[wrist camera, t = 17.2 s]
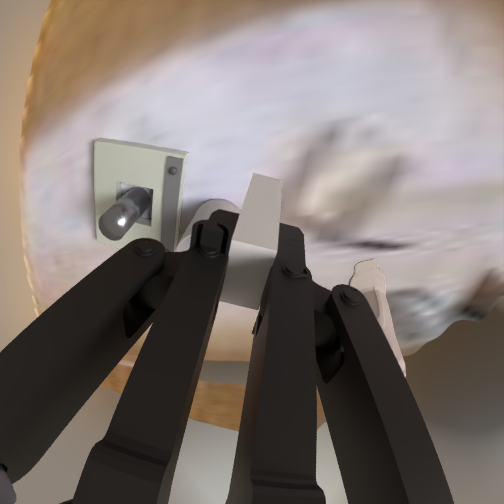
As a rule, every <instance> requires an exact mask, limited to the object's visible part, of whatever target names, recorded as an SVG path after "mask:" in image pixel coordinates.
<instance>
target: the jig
mask: <svg viewBox="0 0 504 504" xmlns="http://www.w3.org/2000/svg"><path fill="white" fill-rule="evenodd" d="M188 154H189V152H185V151H180V150H175V149H169V148H163V147H158V146H152V145H146V144H139V143H133V142H126V141H119V140H112V139H104V138H100V139H98V140H96V141H95V144H94V196H95V219H96V234H97V243H100V244H104V245H108V246H111V247H115V248H118V249H121V248H123V247H124V246H125V245H127V244H128V243H129V242H131V241H133V240H135V239H139V238H152V239H155V240H158V241H159V242H161V243H162V244H163V245H164V247H165V252H176V248H177V245H178V237H179V227H180V217H181V208H182V200H183V191H184V183H185V176H186V168H187V161H188ZM121 183H126V184H131V185H136V186H140V187H145V188H150V189H153V203H152V220H149V219H144V218H139V219H138V220H137V221H136V222H135V223H134V225H133V226H132V227H131V228H130V229H129V230H128V232H127V233H126V234H125V235H124V236H123V238H122V239H120V240H118V241H112V240H109V239H108V238H106V237H105V236H104V235H103V234H102V233H101V231H100V229H99V225H98V222H99V218H100V217H101V216H102V215H103V214H104V213H105V212H106V211H107V210H108V209H109V208H110V207H111V206H112V205H113V204H115V203H116V202H117V201H118V200H119V199H120V198H121Z"/></svg>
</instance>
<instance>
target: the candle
mask: <svg viewBox="0 0 504 504" xmlns="http://www.w3.org/2000/svg"><path fill="white" fill-rule="evenodd" d="M350 286H352V287H354V288H356V289H358V290H359V291H360V292H361V293H362V294H363V295H364V296H365V297H366V299H367V301H368V303H369V305H370V307H371V309H372V310H373V312H374V314H375V316H376V318H377V320H378V322H379V324H380V326H381V328H382V330H383V332H384V334H385V336H386V338H387V340H388V342H389V344H390V346H391V348H392V350H393V353H394V355H395V357H396V359H397V361H398V363H399V365H400V367H401V369H402V372H403V374H404V376H405V377H406V372H405V363H404V360H403V357H402V354H401V351H400V349H399V346H398V343H397V340H396V336H395V333H394V328H393V324H392V319H391V314H390V310H389V306H388V303H387V299H386V283H385V277H384V273H383V271H382V270H381V269H379V268H378V267H377V261H376V260H375V259H371V260H368V261H363V262H360V263H358V264H356V266H355V270H354V275H353V277H352V279H351V281H350Z"/></svg>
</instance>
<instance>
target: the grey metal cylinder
mask: <svg viewBox="0 0 504 504" xmlns="http://www.w3.org/2000/svg"><path fill="white" fill-rule="evenodd" d="M150 203H151V200H150V196H149V194H148V192H147V191H146V190H145V189H143V188H141V187H133V188H131V189H130V190H129V191H128V192H127V193H126V194H124V195H123V196H122V197H121V198H120V199H119V200H118V201H117V202H116V203H115V204H113V205H112V206H111V207H110V208H109V209H108V210H107V211H106V212H105V213H104V214H103V215H102V216H101V217H100V218H99V222H98V225H99V229H100V231H101V233H102V234H103V235H104V236H105V237H106V238H108V239H109V240H112V241H118V240H120V239H122V238H123V236H124V235H125V234H126V233H127V232H128V230H129V229H130V228H131V227H132V226H133V225H134V223H135V222H136V221H137V220H138V219H139V218H140V217H141V215H142V214H143V213H144V212H145V211H146V210H147V209H148V208H149V206H150Z"/></svg>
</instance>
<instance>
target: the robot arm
mask: <svg viewBox="0 0 504 504" xmlns="http://www.w3.org/2000/svg"><path fill="white" fill-rule="evenodd" d="M281 193H282V180H279V179H275V178H271V177H267V176H263V175H259V174H255V173H253V176H252V179H251V182H250V185H249V188H248V191H247V194H246V197H245V200H244V203H243V206H242V209H241V212H240V214H239V213H234V212H230V211H226V210H222V209H218V210H216V211H214V212H212V213H211V215H210V217H209V219H207V220H200V221H197V222H195V223H194V224H193V225H192V233H191V241H190V247H189V249H188V250H186V251H181V252H165V247H164V245H163V244H162V243H161V242H159V241H158V240H155V239H152V238H139V239H135V240H133V241H131V242H129V243H128V244H127V245H125V246H124V247H123V248H121V249H120V250H119V251H117V252H116V253H115V254H114V255H112V256H111V257H110V258H108V259H107V260H106V261H105V262H103V263H102V264H101V265H100V266H98V267H97V268H96V269H94V270H93V271H92V272H91V273H89V274H88V275H87V276H86V277H85V278H83V279H82V280H81V281H80V282H78V283H77V284H76V285H75V286H74V287H72V288H71V289H70V290H69V291H68V292H66V293H65V294H64V295H63V296H62V297H61V298H59V299H58V300H57V301H56V302H55V303H54V304H52V305H51V306H50V307H49V308H48V309H47V310H45V311H44V312H43V313H42V314H41V315H40V316H39V317H38V318H36V320H34V321H33V322H32V323H31V324H30V325H29V326H28V327H27V328H25V329H24V330H23V331H22V332H21V333H20V334H19V335H18V336H17V337H16V338H15V339H14V340H13V341H12V342H11V343H9V344H8V345H7V346H6V347H5V348H4V349H3V350H2V351H1V352H0V504H14V503H15V502H16V493H15V491H14V490H13V486H12V484H13V483H15V482H16V481H18V480H20V479H21V478H22V477H23V476H24V475H25V474H27V473H28V472H29V471H30V470H31V469H32V468H33V467H34V466H35V465H36V463H37V462H38V461H39V460H40V459H41V458H42V456H43V455H44V454H45V453H46V451H47V450H48V449H49V447H50V446H51V445H52V444H53V442H54V441H55V440H56V439H57V437H58V436H59V435H60V433H61V432H62V431H63V430H64V428H65V427H66V426H67V425H68V423H69V422H70V421H71V420H72V418H73V417H74V416H75V415H76V413H77V412H78V411H79V410H80V409H81V407H82V406H83V405H84V404H85V402H86V401H87V400H88V399H89V398H90V396H91V395H92V394H93V393H94V391H95V390H96V389H97V388H98V387H99V385H100V384H101V383H102V382H103V381H104V379H105V378H106V377H107V376H108V375H109V373H110V372H111V371H112V370H113V369H114V367H115V366H116V365H117V364H118V363H119V362H120V360H121V359H122V358H123V357H124V356H125V354H126V353H127V352H128V351H129V350H130V349H131V347H132V346H133V345H134V344H135V343H136V341H137V340H138V339H139V338H140V337H141V336H142V334H143V333H144V332H145V331H146V330H147V329H148V327H149V326H150V325H151V324H152V323H153V324H152V326H151V328H150V330H149V332H148V335H147V337H146V339H145V341H144V344H143V346H142V348H141V350H140V353H139V355H138V357H137V360H136V362H135V364H134V366H133V369H132V371H131V373H130V376H129V378H128V381H127V383H126V385H125V388H124V390H123V393H122V395H121V398H120V400H119V403H118V405H117V408H116V410H115V412H114V415H113V417H112V420H111V423H110V425H109V428H108V430H107V433H106V435H105V437H104V438H103V439H102V440H100V441H99V442H97V443H96V444H95V445H94V447H93V448H92V449H91V451H90V453H89V456H88V458H87V461H86V463H85V466H84V469H83V471H82V474H81V477H80V480H79V483H78V486H77V489H76V492H75V494H74V497H73V499H71V500H68V501H65V502H62V503H60V504H168V501H169V496H170V491H171V485H172V481H173V476H174V472H175V468H176V464H177V460H178V456H179V452H180V448H181V444H182V440H183V437H184V433H185V429H186V425H187V421H188V417H189V413H190V409H191V406H192V402H193V398H194V394H195V390H196V387H197V383H198V379H199V375H200V372H201V368H202V364H203V360H204V357H205V353H206V349H207V346H208V342H209V338H210V335H211V331H212V327H213V324H214V320H215V316H216V313H217V308H218V303H219V301H222V302H226V303H230V304H234V305H239V306H243V307H247V308H251V309H256V310H258V309H259V306H260V310H259V313H258V316H257V319H256V322H255V325H254V328H253V331H252V334H254V338H253V344H252V351H251V358H250V364H249V371H248V378H247V384H246V391H245V397H244V403H243V410H242V416H241V422H240V429H239V435H238V441H237V447H236V454H235V459H234V466H233V472H232V478H231V484H230V490H229V494H228V498H227V501H226V503H225V504H326V499H325V495H324V492H323V490H322V489H321V488H320V487H319V486H318V485H317V482H316V440H317V439H316V438H317V436H316V435H317V433H316V432H317V392H316V385H317V388H318V392H319V395H320V399H321V402H322V406H323V410H324V413H325V417H326V420H327V424H328V428H329V431H330V435H331V439H332V442H333V446H334V450H335V454H336V457H337V461H338V465H339V468H340V472H341V476H342V480H343V484H344V488H345V492H346V496H347V500H348V504H454V502H453V499H452V495H451V493H450V489H449V486H448V483H447V480H446V477H445V475H444V472H443V469H442V466H441V463H440V461H439V458H438V455H437V453H436V450H435V447H434V445H433V442H432V440H431V437H430V435H429V432H428V429H427V427H426V425H425V422H424V420H423V417H422V415H421V412H420V410H419V408H418V406H417V403H416V401H415V398H414V397H413V394H412V392H411V389H410V387H409V385H408V383H407V380H406V378H405V376H404V374H403V372H402V369H401V367H400V365H399V363H398V361H397V359H396V357H395V355H394V353H393V350H392V348H391V346H390V344H389V342H388V340H387V338H386V336H385V334H384V332H383V330H382V328H381V326H380V324H379V322H378V320H377V318H376V316H375V314H374V312H373V310H372V309H371V307H370V305H369V303H368V301H367V299H366V297H365V296H364V295H363V294H362V293H361V292H360V291H359V290H358V289H356V288H354V287H352V286H349V285H344V284H341V285H336V286H335V287H333V289H332V291H330V290H328V289H326V288H324V287H322V286H320V285H318V284H316V283H315V282H314V281H313V280H312V275H311V272H310V270H309V269H308V268H307V267H306V263H305V249H304V248H305V246H304V234H303V233H302V232H301V230H300V229H299V228H298V227H294V226H290V225H286V224H283V223H279V222H280V208H281Z"/></svg>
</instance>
